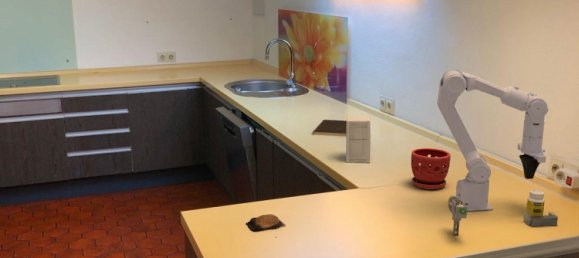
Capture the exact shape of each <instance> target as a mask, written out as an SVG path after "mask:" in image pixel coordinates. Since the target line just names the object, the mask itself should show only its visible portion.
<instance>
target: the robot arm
mask: <svg viewBox="0 0 579 258" xmlns="http://www.w3.org/2000/svg"><path fill="white" fill-rule="evenodd" d="M438 86H439V87H438V93H437V95H438V96H437V100H436V101H437V107H438V109H439V111H440V114H441V115H442V117H443V119H444V121H445V123H446V125H447V127H448V129H449V132H450V133H451V135H452V136H453V139H454V140H455V143H456V144H457V146H458V148H459V151H460V152H461V154H462V156H463V158H464V160H465V167H466V169H467V171H468V172H467V174H465V178H463V179H459V180H457V182H456V185H455V186H456V188H455V191H456V192H455V196H456V197H457V198H458V200H462V201H463V202H464V203H465V205H466V206H467V212H471V211H489V210H490V211H491V210H493V209H494V208H493V207H492V206H491V205H490V204H489V190H490V177H491V175H492V170H491V168H490V166H489V165H488V163H487V160H486V158H485V157H484V156H482V155H481V154H480V153H479V151H478V150H477V148H476V145H475V143H474V141H473V140H472V138H471V136H470V134H469V132H468V130H467V127H466V126H465V124H464V123H463V120H462V118H461V117H460V114H459V113H458V111H457V109H456V106H455V105H456V103H457V100H458V98H459V97H460V96H461V94H462V93H464V92H465V90H466V92H471V91H474V90H477V91H480V92H483V93H486V94H488V95H492V96H494V97H496V98H499V99H500V102H501V104H502V105H505V106H508V107H510V108H513V109H514V110H517V111H520V112H525V113H524V121H523V128H522V129H523V131H522V139H521V142H520V143H517V150H518V151H520V152H521V153H522V154H520V155H518V157H519V159H520V161H521V164H522V169H523V175H524V178H525V179H526V180H534V177H535V175H536V172H537V169H538V168H539V166H540V164H545V163H546V162H547V161H546V160H547V156H546V155H545V152H546V149H544V148H543V142H544V141H543V140H544V132H545V131H544V130H545V116H546V115H547V114H548V112H549V108H548V104H547V102H546V101H545V100H544V99H543V98H542V97H540V96H539V95H537V94H535V93H534V92H527V91H525V90H522V89H520V87H519V86H517V85H514V86H511V85H509V86H506V87H502V86H500V85H498V84H496V83H493V82H491V81H488V80H486V79H484V78H481V77H479V76H477V75H475V74H472V73H468V72H466V71H461V72H460V71H459V70H458V69H454V68H451V69H448V70H447V71H445V72H444V73H443V74H442V76H441V78H440V80H439V84H438Z"/></svg>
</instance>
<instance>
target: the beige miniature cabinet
mask: <svg viewBox="0 0 579 258" xmlns="http://www.w3.org/2000/svg"><path fill="white" fill-rule="evenodd" d="M370 117H371V116H370V115H347V116H346V121H347V124H346V136H345V140H346V141H345V146H346V149H345V150H346V151H345V152H346V153H345V156H346V157H345V158H346V159H345V160H346V163H360V164H361V163H365V164H366V163H368V164H369V163H371V148H372V147H371V144H372V142H371V118H370Z"/></svg>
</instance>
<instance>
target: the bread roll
mask: <svg viewBox="0 0 579 258" xmlns="http://www.w3.org/2000/svg"><path fill="white" fill-rule="evenodd" d="M245 226H247V227H248V229H249V231H251V232H252V233H259V232H260V233H261V232H266V231H271V230H272V231H273V230H275V229H280V228H284V227H287V225H286V224H285V223H284V222H283V221H281V220H280V219H279V217H278V216H276V215H274V214H262V215H259V216H257V217H251V218H250V219H249V221H248V222H245Z"/></svg>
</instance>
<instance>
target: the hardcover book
mask: <svg viewBox="0 0 579 258" xmlns="http://www.w3.org/2000/svg"><path fill="white" fill-rule="evenodd" d="M346 124H347V120H339V119H323V120H322V121H321V122H319V124H318V125H317V127H316V128H315V129H314V130H312V135H315V136H316V135H318V136H331V137H333V136H334V137H346Z"/></svg>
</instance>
